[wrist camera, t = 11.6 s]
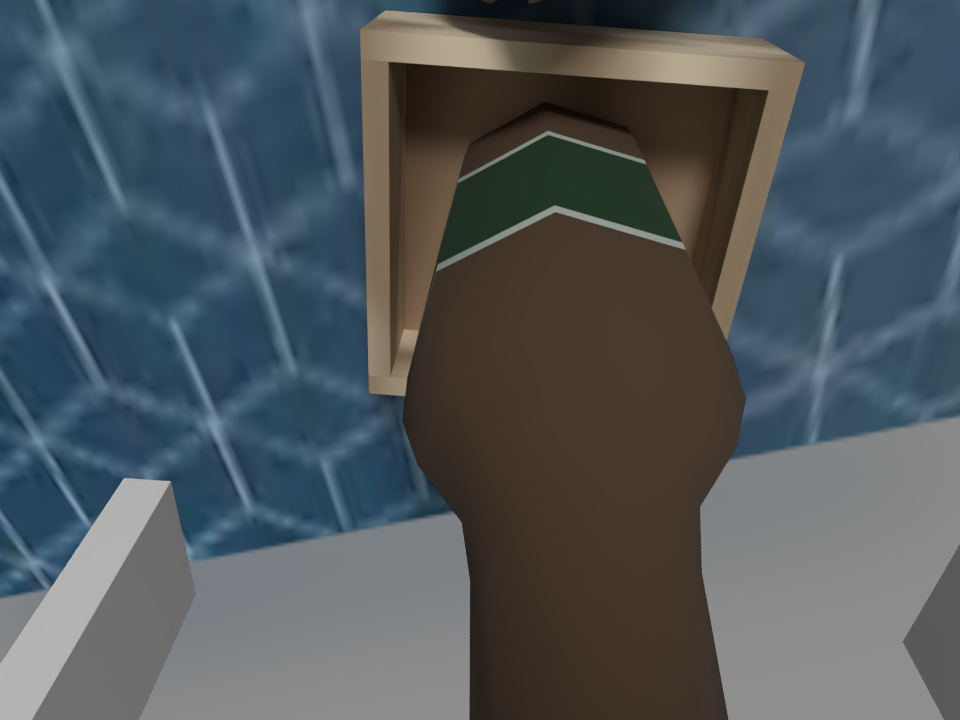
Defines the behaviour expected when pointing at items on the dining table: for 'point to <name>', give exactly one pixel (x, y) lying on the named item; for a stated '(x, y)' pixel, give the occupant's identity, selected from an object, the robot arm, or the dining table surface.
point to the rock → (530, 0)
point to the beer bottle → (575, 426)
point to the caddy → (572, 85)
